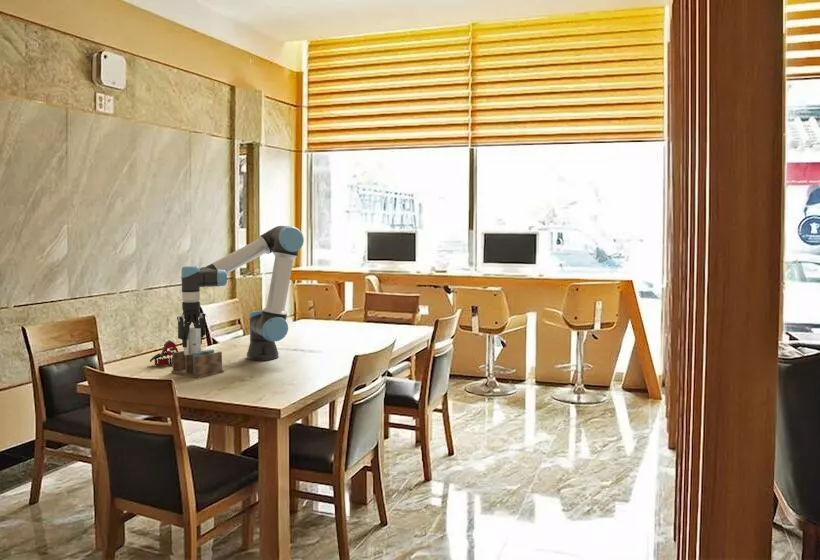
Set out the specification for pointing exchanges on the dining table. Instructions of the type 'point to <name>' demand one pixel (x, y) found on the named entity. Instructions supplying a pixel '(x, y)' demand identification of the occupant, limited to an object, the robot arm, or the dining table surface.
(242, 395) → the dining table surface
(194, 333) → the skincare box
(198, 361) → the rack
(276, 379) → the dining table surface
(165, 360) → the logo sign
